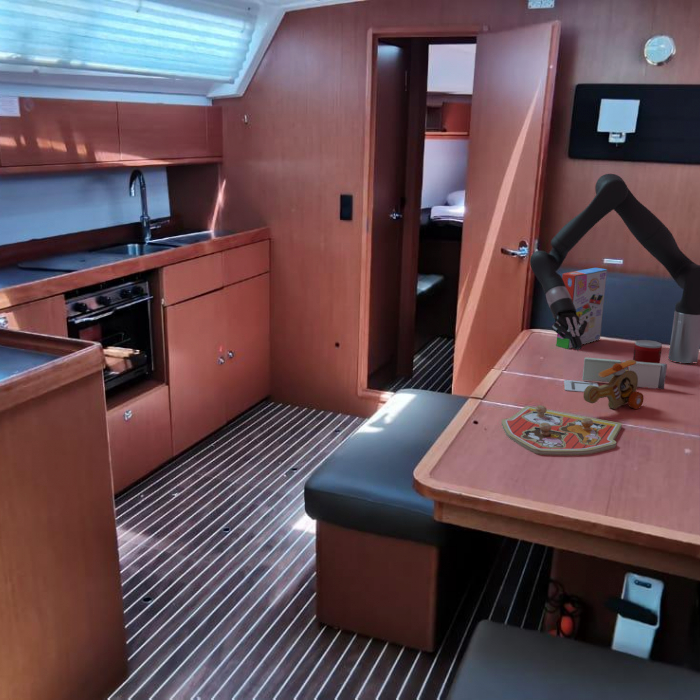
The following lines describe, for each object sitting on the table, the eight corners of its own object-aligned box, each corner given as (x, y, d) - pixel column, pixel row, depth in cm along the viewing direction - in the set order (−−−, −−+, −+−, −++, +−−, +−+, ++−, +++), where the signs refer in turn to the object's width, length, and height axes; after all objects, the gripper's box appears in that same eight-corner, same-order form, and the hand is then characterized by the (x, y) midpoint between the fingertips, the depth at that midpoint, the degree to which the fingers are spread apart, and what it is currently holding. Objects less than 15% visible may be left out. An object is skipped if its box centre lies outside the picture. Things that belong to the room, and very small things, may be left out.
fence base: (619, 383, 228) (622, 360, 226) (663, 387, 225) (666, 363, 223) (620, 385, 226) (622, 361, 224) (664, 389, 223) (667, 365, 221)
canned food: (661, 380, 232) (666, 346, 229) (636, 379, 232) (640, 345, 229) (652, 372, 240) (656, 340, 237) (627, 372, 240) (631, 339, 237)
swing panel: (618, 381, 228) (620, 360, 226) (618, 383, 226) (621, 361, 224) (582, 378, 230) (584, 357, 229) (582, 380, 229) (584, 359, 227)
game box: (587, 337, 282) (595, 267, 275) (600, 340, 278) (608, 269, 271) (555, 346, 269) (562, 272, 262) (568, 349, 265) (575, 274, 258)
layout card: (564, 380, 230) (564, 379, 230) (597, 383, 228) (597, 382, 228) (564, 390, 221) (564, 389, 221) (599, 393, 218) (599, 392, 218)
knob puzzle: (627, 429, 192) (629, 413, 191) (602, 470, 168) (604, 452, 167) (518, 408, 207) (520, 393, 205) (481, 443, 182) (482, 426, 181)
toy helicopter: (645, 407, 208) (651, 360, 204) (596, 420, 197) (601, 371, 193) (621, 398, 214) (626, 353, 211) (572, 411, 204) (577, 364, 200)
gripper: (548, 297, 239) (566, 343, 231) (583, 296, 243) (602, 341, 235) (538, 310, 245) (555, 355, 237) (572, 308, 249) (590, 352, 241)
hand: (578, 348), depth 236 cm, fingers closed
